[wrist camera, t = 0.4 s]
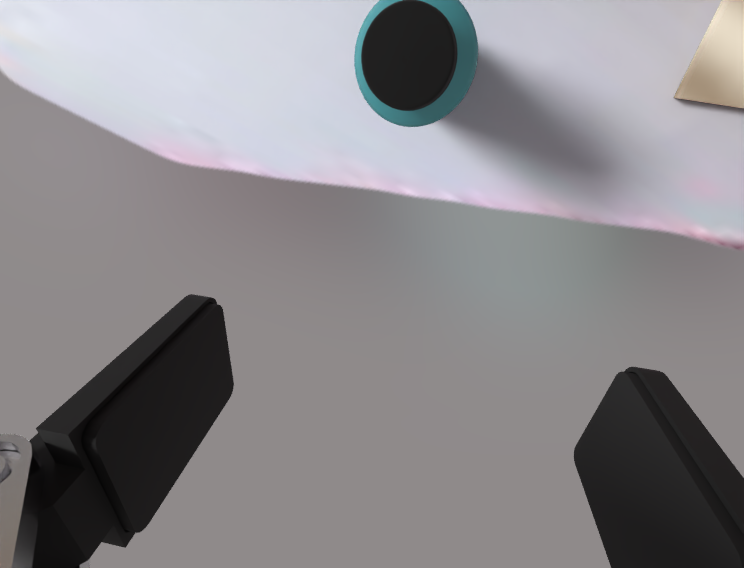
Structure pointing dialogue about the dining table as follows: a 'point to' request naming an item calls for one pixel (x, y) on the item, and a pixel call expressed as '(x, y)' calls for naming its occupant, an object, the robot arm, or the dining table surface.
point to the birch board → (718, 60)
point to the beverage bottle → (416, 59)
